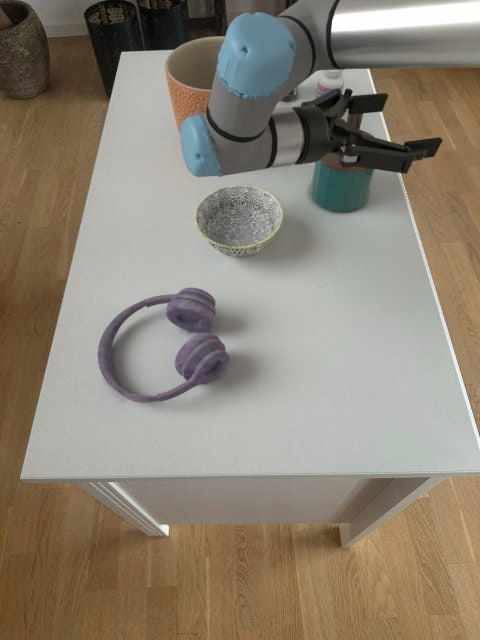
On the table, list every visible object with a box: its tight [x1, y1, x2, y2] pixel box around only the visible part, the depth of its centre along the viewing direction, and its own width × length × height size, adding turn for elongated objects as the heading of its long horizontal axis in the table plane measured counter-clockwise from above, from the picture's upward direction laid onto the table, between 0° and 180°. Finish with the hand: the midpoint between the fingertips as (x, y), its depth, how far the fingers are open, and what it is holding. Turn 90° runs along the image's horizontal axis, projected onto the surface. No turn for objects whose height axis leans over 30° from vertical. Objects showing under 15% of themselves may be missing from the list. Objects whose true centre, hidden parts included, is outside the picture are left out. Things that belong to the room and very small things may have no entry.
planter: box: [164, 35, 226, 137], centre depth 95 cm, size 21×21×19 cm
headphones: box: [97, 287, 230, 403], centre depth 70 cm, size 18×8×20 cm
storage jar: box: [310, 160, 376, 214], centre depth 89 cm, size 12×12×10 cm
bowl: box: [194, 184, 284, 257], centre depth 83 cm, size 16×16×8 cm
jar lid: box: [320, 112, 375, 172], centre depth 81 cm, size 13×13×9 cm
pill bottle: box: [314, 70, 345, 114], centre depth 104 cm, size 6×6×11 cm
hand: (409, 123), depth 69 cm, fingers open, 13 cm apart
